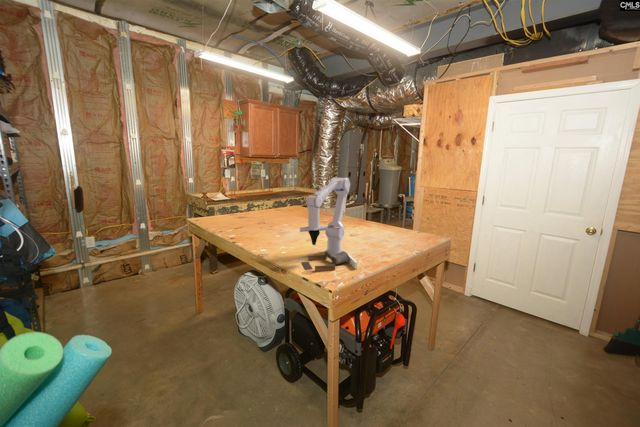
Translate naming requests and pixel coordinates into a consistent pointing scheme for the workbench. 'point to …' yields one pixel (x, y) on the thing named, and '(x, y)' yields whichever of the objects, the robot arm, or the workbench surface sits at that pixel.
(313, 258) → the brown wooden board
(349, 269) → the workbench surface
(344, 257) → the pipe
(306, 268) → the strip
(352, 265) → the cream plank
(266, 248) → the workbench surface
